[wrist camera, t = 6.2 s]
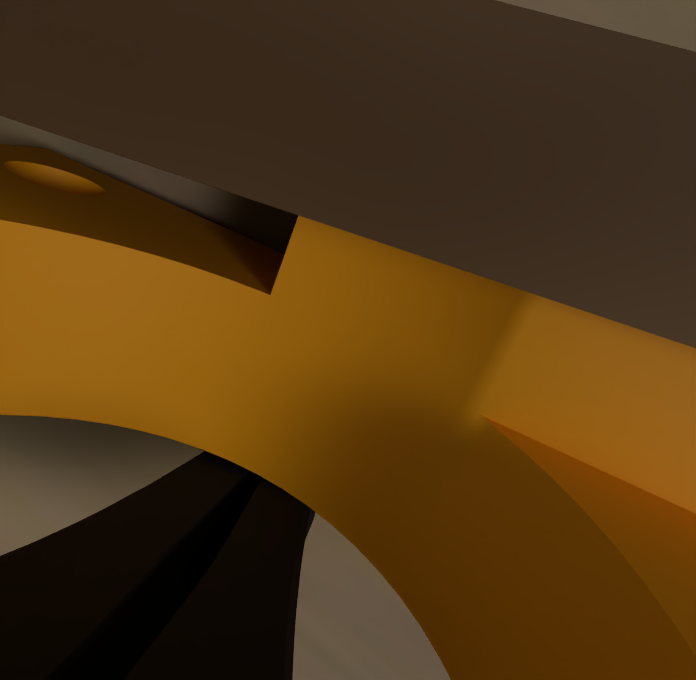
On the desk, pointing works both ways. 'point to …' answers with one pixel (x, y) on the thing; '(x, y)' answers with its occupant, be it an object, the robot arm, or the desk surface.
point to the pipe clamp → (379, 413)
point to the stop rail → (398, 129)
